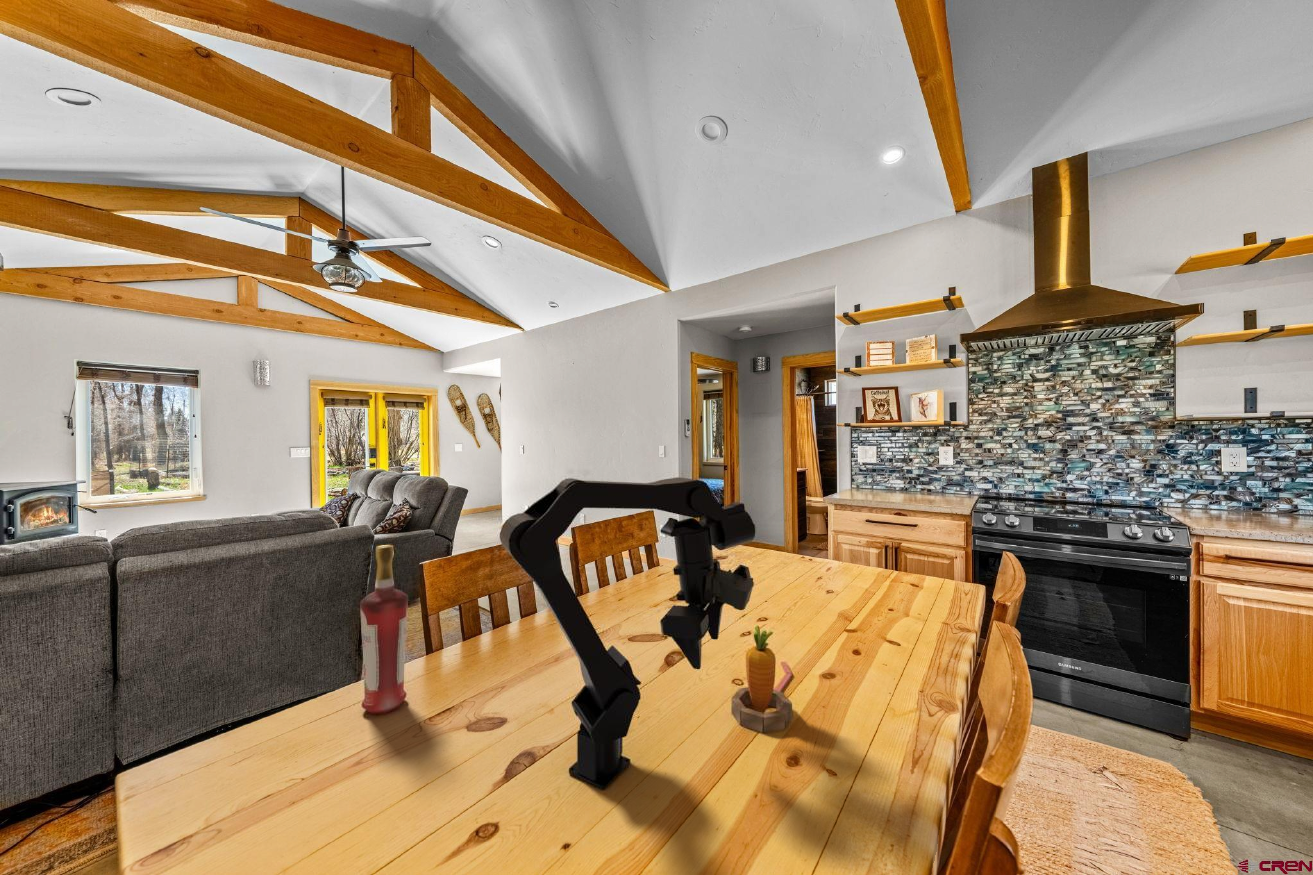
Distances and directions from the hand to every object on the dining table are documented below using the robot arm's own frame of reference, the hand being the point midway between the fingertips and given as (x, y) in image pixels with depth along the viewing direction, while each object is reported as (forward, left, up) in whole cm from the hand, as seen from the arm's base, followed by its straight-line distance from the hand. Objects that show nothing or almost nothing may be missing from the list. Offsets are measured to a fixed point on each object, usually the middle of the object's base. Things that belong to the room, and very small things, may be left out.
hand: (706, 652), depth 78 cm
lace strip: (+22, -5, -13) cm, 26 cm away
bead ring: (+10, -6, -13) cm, 17 cm away
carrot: (+9, -6, -13) cm, 17 cm away
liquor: (-22, +51, -13) cm, 57 cm away
